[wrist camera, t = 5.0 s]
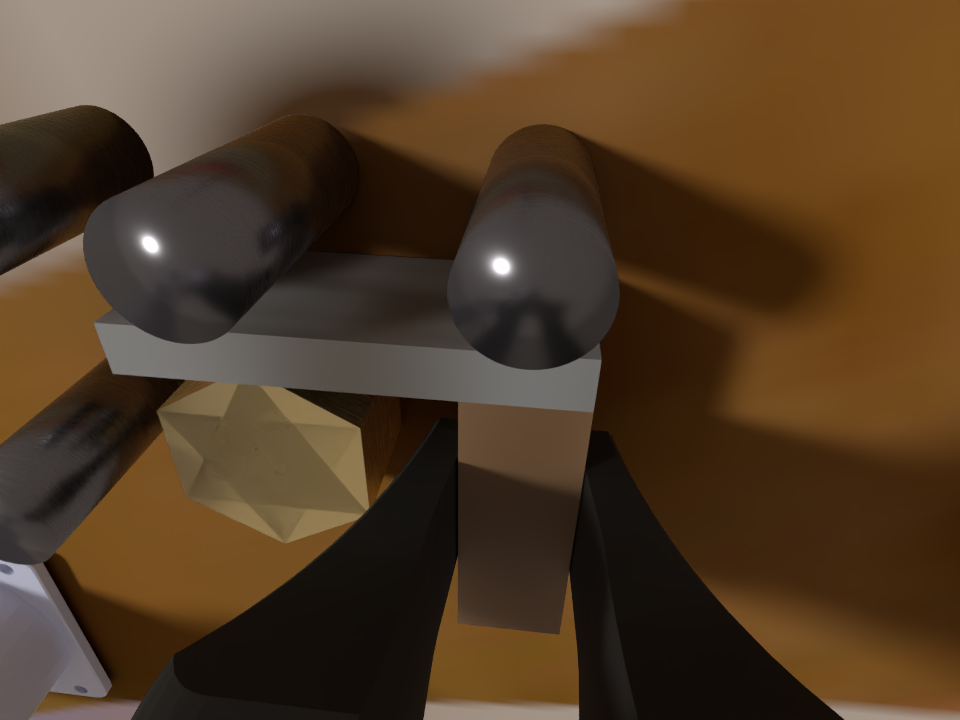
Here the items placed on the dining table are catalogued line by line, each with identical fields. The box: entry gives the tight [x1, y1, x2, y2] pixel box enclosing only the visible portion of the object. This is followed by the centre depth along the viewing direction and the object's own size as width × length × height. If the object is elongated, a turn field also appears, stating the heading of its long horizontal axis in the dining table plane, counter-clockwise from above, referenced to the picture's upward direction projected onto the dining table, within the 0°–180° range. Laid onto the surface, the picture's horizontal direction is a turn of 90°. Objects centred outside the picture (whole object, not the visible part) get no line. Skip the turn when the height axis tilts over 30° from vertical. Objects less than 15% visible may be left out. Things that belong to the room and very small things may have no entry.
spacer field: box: [0, 105, 620, 565], centre depth 11 cm, size 11×7×5 cm, turn 89°
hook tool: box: [94, 251, 602, 634], centre depth 13 cm, size 8×7×4 cm
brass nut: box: [157, 380, 401, 543], centre depth 13 cm, size 5×4×3 cm
